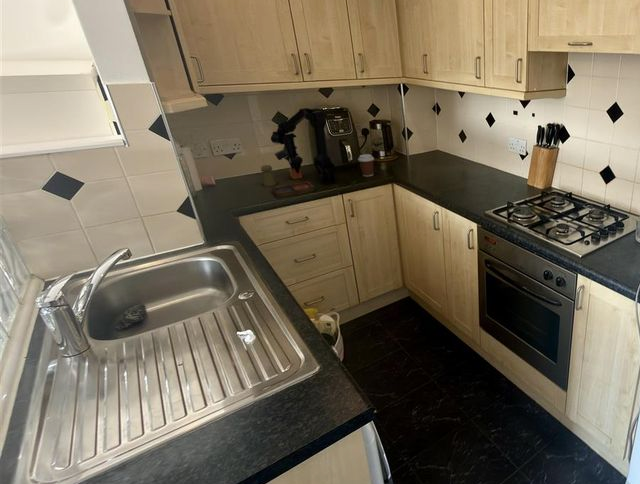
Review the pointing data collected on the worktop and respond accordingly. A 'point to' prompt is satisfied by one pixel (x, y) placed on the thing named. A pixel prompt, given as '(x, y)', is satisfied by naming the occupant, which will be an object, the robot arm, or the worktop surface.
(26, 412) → the worktop surface
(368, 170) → the coffee cup
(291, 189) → the sorting tray
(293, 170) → the terracotta block
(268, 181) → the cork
